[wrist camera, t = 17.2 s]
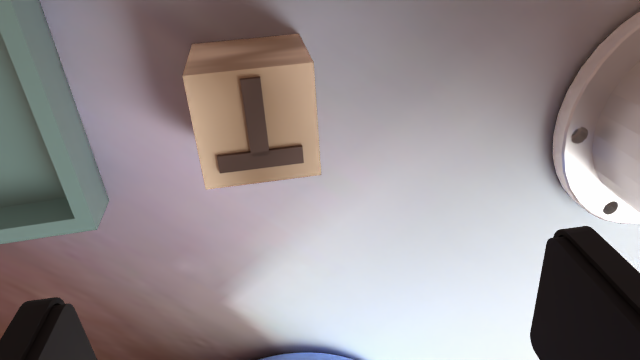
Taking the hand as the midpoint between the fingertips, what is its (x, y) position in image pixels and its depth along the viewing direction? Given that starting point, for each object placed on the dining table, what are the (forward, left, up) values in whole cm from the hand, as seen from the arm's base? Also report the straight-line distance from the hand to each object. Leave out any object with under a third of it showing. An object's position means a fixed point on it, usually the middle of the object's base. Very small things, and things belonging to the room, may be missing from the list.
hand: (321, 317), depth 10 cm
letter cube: (+1, 0, -14) cm, 14 cm away
